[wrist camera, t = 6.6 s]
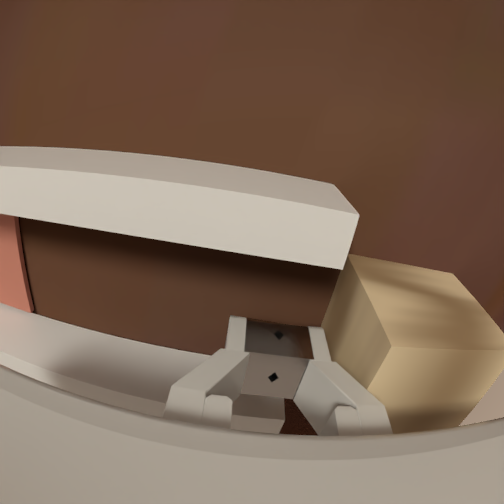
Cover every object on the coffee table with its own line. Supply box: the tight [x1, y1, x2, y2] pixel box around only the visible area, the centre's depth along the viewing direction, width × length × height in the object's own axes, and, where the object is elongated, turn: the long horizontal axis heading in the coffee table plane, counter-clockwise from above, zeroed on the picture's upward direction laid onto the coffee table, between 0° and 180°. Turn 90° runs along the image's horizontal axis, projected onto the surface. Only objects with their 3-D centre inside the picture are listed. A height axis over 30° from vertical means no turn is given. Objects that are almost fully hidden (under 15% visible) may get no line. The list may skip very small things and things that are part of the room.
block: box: [321, 254, 504, 434], centre depth 10 cm, size 5×5×5 cm
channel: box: [0, 146, 359, 434], centre depth 10 cm, size 18×10×3 cm, turn 81°
